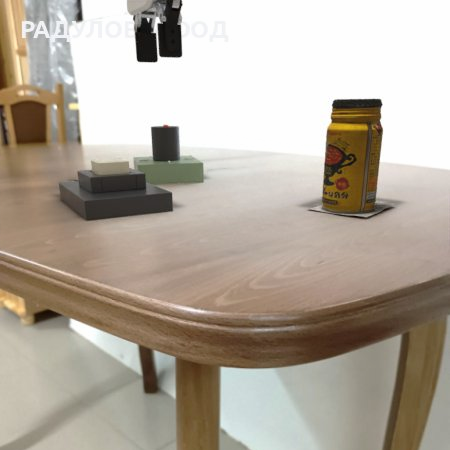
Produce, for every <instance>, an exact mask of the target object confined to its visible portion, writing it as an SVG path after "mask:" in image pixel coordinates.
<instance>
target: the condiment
mask: <svg viewBox="0 0 450 450" xmlns="http://www.w3.org/2000/svg"><path fill="white" fill-rule="evenodd" d="M383 105H384V104H383V101H382V99H381V98H341V99H340V98H337V99H334V100H332V104H331V107H332V108H331V113H330V120H331V122H330V123H329V125H328V126H327V128H326V134H325V135H326V136H325V150H324V151H325V152H324V164H323V181H322V197H321V203H322V204H319V205H317V206H315V207H311V208H309V210H311V211H317V212H322V213H328V214H333V215H334V214H335V215H342V216H357V217H363V218H368V217H371V216H374V215H376V214H378V213H381V212H382V211H384V210H385V209H388V208H390V207H392V206H393V205H395V203H390V202H389V203H384V202H383V203H382V202H376V201H377V194H378V193H377V192H378V182H379V181H378V180H379V172H380V171H379V170H380V161H381V153H382V144H383V134H384V128H383V126H382V122H381V119H382V107H383Z"/></svg>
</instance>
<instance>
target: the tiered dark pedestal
mask: <svg viewBox="0 0 450 450" xmlns="http://www.w3.org/2000/svg"><path fill="white" fill-rule="evenodd" d="M129 171H130V173H124V174H110V175H99V176H98V175H96V174H94V173H92V169H82V170H77V172H76V173H77V180H74V181H62V182H58V189H59V197H60V200H61V201H62V202H63V203H64V204H66V205H67V206H68V207H69V208H71V210H73V211H74V212H75V213H76V214H78V215H79V216H80V217H82V218H83V219H84V220H85V221H86V222H88V221H89V222H91V221H97V220H98V221H99V220H106V219H107V220H108V219H115V218H116V219H117V218H124V217H125V218H126V217H133V216H141V215H142V216H144V215H150V214H151V215H152V214H161V213H169V212H173V211H174V207H173V206H174V205H173V192H172V191H170V190H167V189H164V188H162V187H160V186H157V185H156V184H150V183H147V182H146V176H145V173H142V172H140V171H137V170H134V168H131V167H129Z"/></svg>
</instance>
